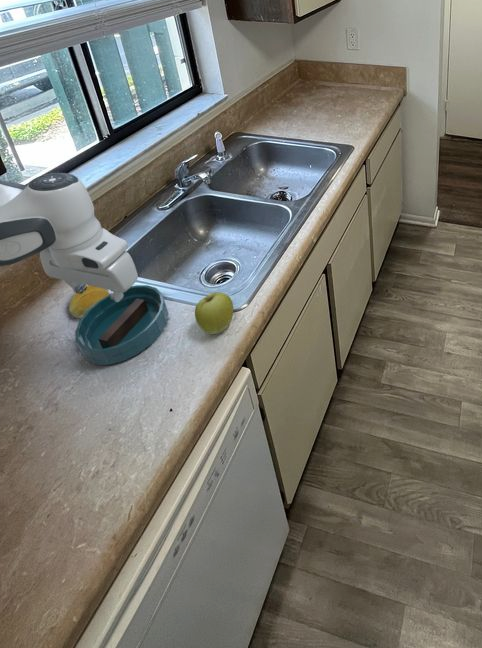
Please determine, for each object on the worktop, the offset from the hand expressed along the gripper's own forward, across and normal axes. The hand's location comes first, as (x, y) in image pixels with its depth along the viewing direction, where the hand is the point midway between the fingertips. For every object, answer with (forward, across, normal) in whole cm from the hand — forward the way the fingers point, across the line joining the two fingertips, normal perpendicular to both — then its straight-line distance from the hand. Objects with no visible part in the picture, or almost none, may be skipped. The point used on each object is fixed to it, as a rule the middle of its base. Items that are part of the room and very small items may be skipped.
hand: (99, 295), depth 93 cm
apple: (+13, +21, +8) cm, 26 cm away
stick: (+13, +1, +2) cm, 13 cm away
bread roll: (+14, -13, +6) cm, 20 cm away
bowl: (+13, +1, +2) cm, 14 cm away
